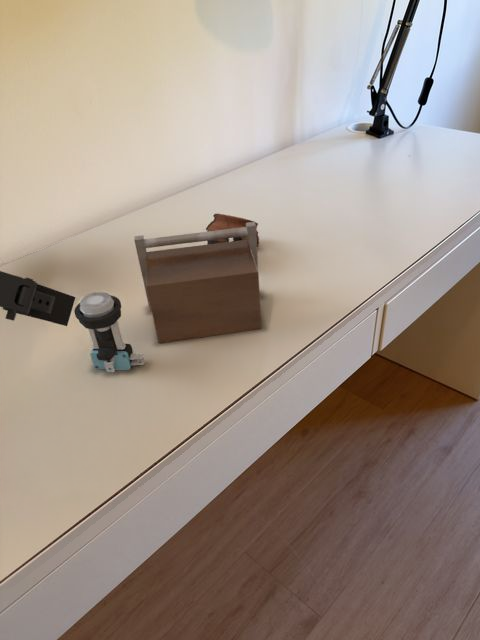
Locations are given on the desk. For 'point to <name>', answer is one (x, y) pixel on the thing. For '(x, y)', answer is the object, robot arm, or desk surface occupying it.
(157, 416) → the desk surface
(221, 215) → the pottery mug
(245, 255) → the box
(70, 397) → the desk surface
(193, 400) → the desk surface
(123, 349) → the push button
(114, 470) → the desk surface
